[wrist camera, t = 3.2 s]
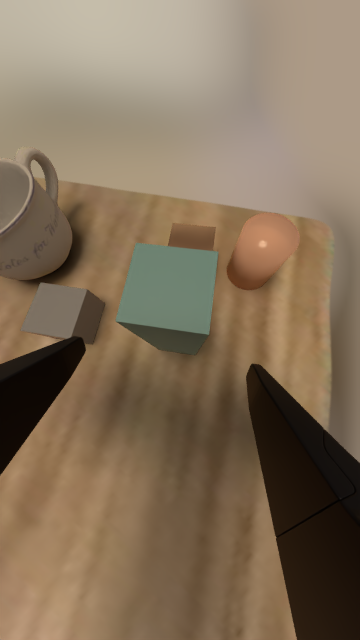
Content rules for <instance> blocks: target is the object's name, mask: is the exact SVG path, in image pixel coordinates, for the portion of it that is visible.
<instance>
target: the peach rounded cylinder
mask: <svg viewBox="0 0 360 640" xmlns="http://www.w3.org/2000/svg"><path fill="white" fill-rule="evenodd" d="M299 240H300V237H299V232H298V230H297V228H296V226H295V225H294V224H293V223H292V222H291V221H290V220H289V219H287V218H286V217H284V216H282V215H279V214H275V213H261V214H257V215H255V216H253V217H251V218H250V219H249V220H247V222H246V223H245V224H244V226H243V229H242V231H241V234H240V236H239V239H238V241H237V244H236V246H235V249H234V251H233V254H232V256H231V258H230V261H229V263H228V266H227V275H228V278H229V279H230V281H231V282H232V283H233V284H234V285H235V286H237V287H239V288H241V289H244V290H254V289H257V288H260V287H261V286H263V285H264V284H265V283H266V281H267V280H268V279H269V278H270V277H271V276H272V275H273V274H274V273H275V272H276V271H277V270H278V269H279V268H280V266H281V265H282V264H283V263H284V262H285V261H286V260H287V259H288V258H289V257H290V256H291V255H292V254H293V252H294V251H295V250H296V249H297V247H298V245H299Z"/></svg>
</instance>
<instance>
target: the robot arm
mask: <svg viewBox="0 0 360 640" xmlns="http://www.w3.org/2000/svg"><path fill="white" fill-rule="evenodd" d="M85 351H86V348H85V344H84V340H83V338H82V337H79V336H73V337H70V338H68V339H65V340H62V341H60V342H57V343H55V344H52V345H49V346H47V347H44V348H41V349H39V350H36V351H34V352H31V353H28V354H26V355H23V356H21V357H18V358H15V359H13V360H10V361H8V362H5V363H2V364H0V474H2V472H3V471H4V470H5V468H6V467H7V465H8V464H9V463H10V461H11V460H12V459H13V457H14V456H15V454H16V453H17V452H18V450H19V449H20V447H21V446H22V445H23V443H24V442H25V440H26V439H27V438H28V436H29V435H30V433H31V432H32V431H33V429H34V428H35V426H36V425H37V424H38V422H39V421H40V420H41V418H42V417H43V415H44V414H45V413H46V411H47V410H48V408H49V407H50V406H51V404H52V403H53V401H54V400H55V399H56V397H57V396H58V394H59V393H60V392H61V390H62V389H63V388H64V386H65V385H66V383H67V382H68V381H69V379H70V378H71V376H72V374H73V373H74V371H75V369H76V368H77V366H78V364H79V362H80V361H81V359H82V357H83V355H84V354H85ZM246 382H247V392H248V403H249V411H250V416H251V421H252V425H253V430H254V435H255V440H256V445H257V449H258V454H259V459H260V464H261V469H262V473H263V478H264V483H265V488H266V493H267V497H268V502H269V507H270V512H271V517H272V521H273V526H274V531H275V536H276V541H277V546H278V551H279V556H280V560H281V565H282V570H283V575H284V580H285V584H286V589H287V594H288V599H289V604H290V608H291V613H292V618H293V623H294V628H295V633H296V637H297V640H360V463H359V462H358V461H357V460H356V459H355V458H354V457H353V456H352V455H351V454H349V453H348V452H347V451H346V450H345V449H344V448H343V447H342V446H341V445H340V444H339V443H338V442H337V441H336V440H335V439H334V438H333V437H332V436H331V435H330V434H329V433H328V432H327V431H326V430H324V428H323V427H322V426H321V425H320V424H319V423H318V422H317V421H316V420H315V419H314V418H313V417H312V416H311V415H310V414H309V413H308V412H307V411H306V410H305V409H304V408H303V407H302V406H301V405H300V404H299V403H298V402H297V401H296V400H295V399H294V398H293V397H292V396H291V395H290V394H289V393H288V392H287V391H286V390H285V389H284V388H283V387H282V386H281V385H280V384H279V383H278V382H277V381H276V380H275V379H274V378H273V377H272V376H271V375H270V374H269V373H268V372H267V371H266V370H265V369H264V368H263V367H262V366H261V365H259V364H251V366H250V368H249V370H248V373H247V376H246Z"/></svg>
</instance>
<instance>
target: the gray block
mask: <svg viewBox="0 0 360 640" xmlns="http://www.w3.org/2000/svg"><path fill="white" fill-rule="evenodd" d="M104 306H105V303H104V302H103V301H101V300H100V299H99V298H98V297H96V296H95V295H94V294H92V293H91V292H90V291H89V290H87V289H81V288H74V287H68V286H61V285H54V284H48V283H41V282H40V285H39V287H38V290H37V292H36V294H35V297H34V299H33V301H32V304H31V306H30V309H29V311H28V313H27V316H26V318H25V320H24V323H23V325H22V328H21V331H25V332H30V333H34V334H39V335H43V336H48V337H52V338H58V339H64V340H65V339H68V338H70V337H73V336H79V337H82V338H83V340H84V343H86V344H92V345H93V342H94V339H95V335H96V332H97V329H98V325H99V322H100V319H101V316H102V312H103V309H104Z"/></svg>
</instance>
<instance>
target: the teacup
mask: <svg viewBox="0 0 360 640" xmlns="http://www.w3.org/2000/svg"><path fill="white" fill-rule="evenodd" d="M33 159H34V160H36V161H37V162H38V163H39V164H40V166H41V167H42V170H43V172H44V175H45V181H46V192H45V190H44V189H43V188H42V187H41V186H40V185H39V183H38V182H37V181H36V180H35V179H34V177H33V175H32V172H31V168H30V164H31V161H32V160H33ZM57 199H58V179H57V174H56V171H55V169H54V167H53V165H52V163H51V162H50V160H49V159H48V158H47V157H46V156H45V155H44V154H43V153H42V152H40V151H39V150H37V149H35V148H32V147H21V148H19V149H18V150H17V152H16V154H15V160H12V159H7V158H0V276H3V277H6V278H10V279H16V280H31V279H36V278H39V277H42V276H44V275H47V274H49V273H51V272H53V271H55V270H56V269H58V268H59V267H60V266H61V265H62V264H63V263H64V262H65V260H66V259H67V257H68V254H69V251H70V248H71V245H72V231H71V227H70V224H69V222H68V220H67V218H66V217H65V215H64V214H63V212H62V211H61V210H60V208H59V207H58V205H57Z"/></svg>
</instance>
